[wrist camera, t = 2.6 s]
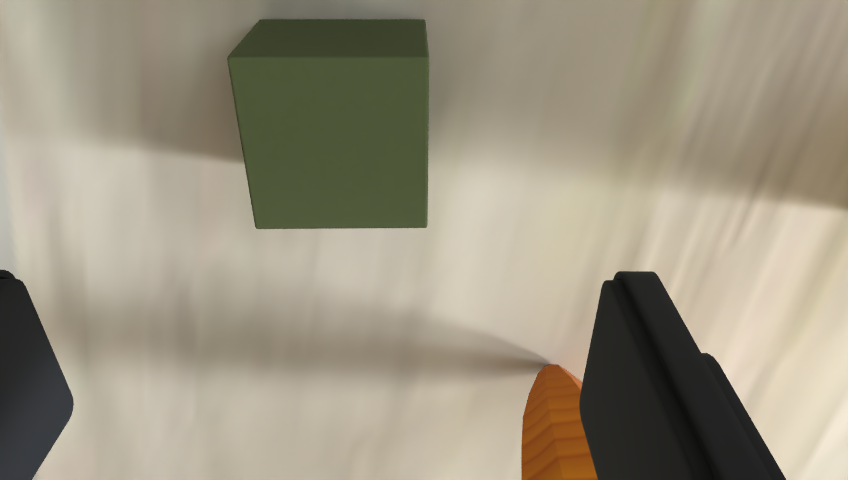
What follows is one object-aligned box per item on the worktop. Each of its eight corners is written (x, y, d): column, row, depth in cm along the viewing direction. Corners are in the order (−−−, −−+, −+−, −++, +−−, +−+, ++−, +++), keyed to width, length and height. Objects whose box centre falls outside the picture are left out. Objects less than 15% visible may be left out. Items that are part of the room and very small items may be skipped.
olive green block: (279, 169, 21) (255, 229, 18) (259, 18, 18) (226, 56, 15) (424, 168, 21) (427, 229, 18) (425, 18, 18) (429, 56, 15)
